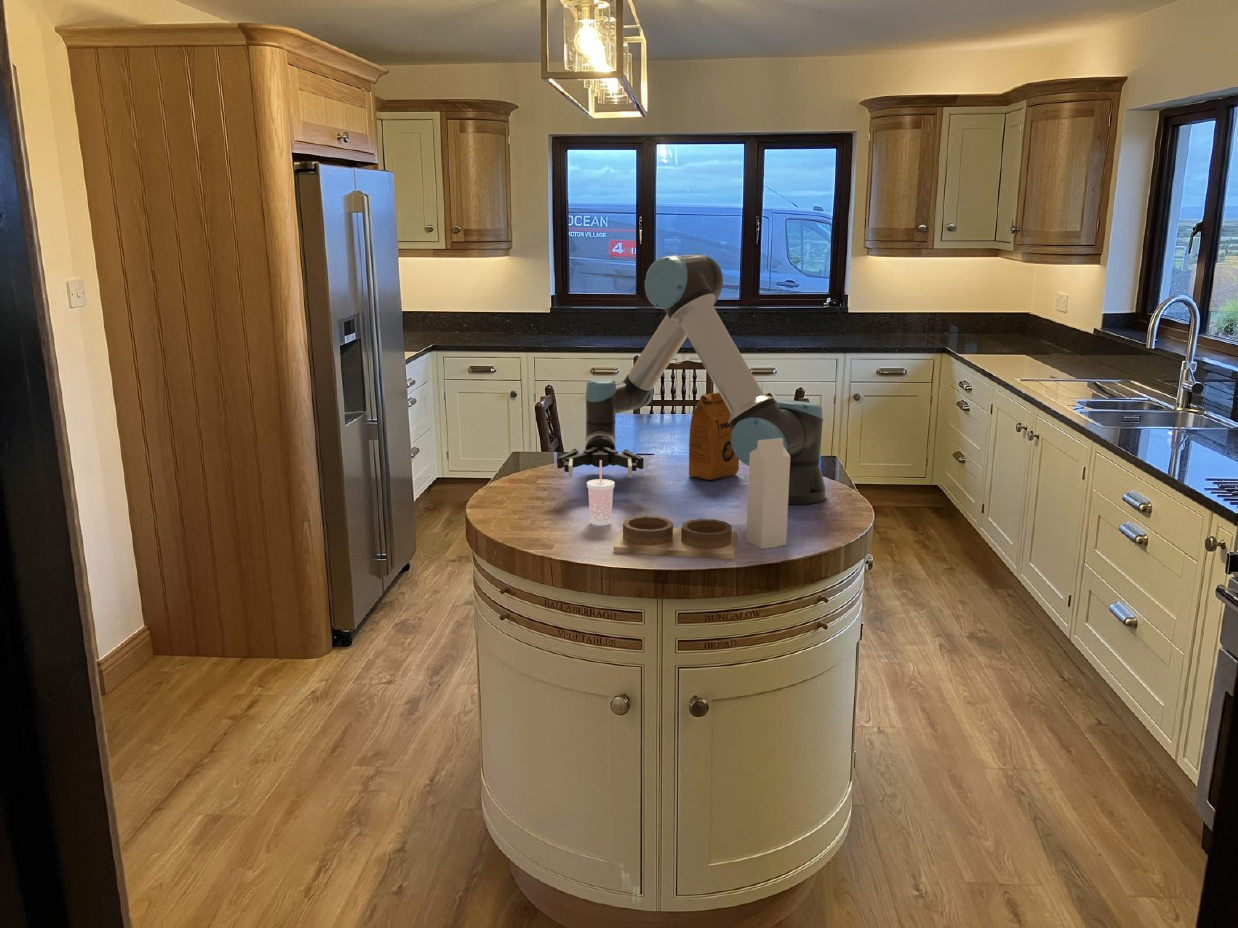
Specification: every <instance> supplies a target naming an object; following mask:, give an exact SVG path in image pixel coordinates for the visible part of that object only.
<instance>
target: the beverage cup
mask: <svg viewBox="0 0 1238 928" xmlns="http://www.w3.org/2000/svg"><path fill="white" fill-rule="evenodd" d="M602 471H603V467H602V460H600V467H599V479H598V478H597V479H590V480H588V481H586V487H587V489H588V492H587V493H588V506H589V507H588V508H589V522H590V524H592V525H594V526H606V525H610V524H612V511H613V498H614V496H613V495H614V489H615V481H614V480H611V479H606V478H604V479H603V472H602Z"/></svg>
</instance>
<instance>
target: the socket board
mask: <svg viewBox="0 0 1238 928" xmlns="http://www.w3.org/2000/svg"><path fill="white" fill-rule="evenodd" d="M681 525H682V526H681V528H680V527H679V528H678V527H674V522H673V521H671V520H670V519H669V518H666V517H661V516H653V515H642V516H641V515H640V516H633V517H630V518H627V519H625V520H624V522H623V523H622V529H621V531H620V533H619V535H618V537H617V539H616V541H615V542H614V546H613V553H618V554H633V555H635V554H636V555H650V556H651V555H653V556H654V555H655V556H670V557H687V558H700V559H701V558H702V559H703V558H704V559H718V560H720V559H721V560H735V557H736V549H737V541H738V531H735V530H732V529H733V526H732V525H731V524H729V523H728V522H727V521H723V520H718V519H715V518H714V519H712V518H698V519H690V520H687V521H685V522H682V524H681Z"/></svg>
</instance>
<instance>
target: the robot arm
mask: <svg viewBox="0 0 1238 928" xmlns="http://www.w3.org/2000/svg"><path fill="white" fill-rule="evenodd" d="M646 271H647V272H646V275H645V280H644V290H645V294H646V299H648V301H649V303H650V304H652V305H653V306H654V307H656V308H658V309H661V310H664V311H665V313H666V314H665V316H664V318H663V319H662V321H661V322H660V324H659V325H658V327H657V329H656V330H655V332H654V333H653V335H652V336H651V337H650V340H649V341H648V343H647V344H646V346H645V347H644V349H643V350H642V352H641V354H640V355H639V356H638V358H637V359H636V361H635V363H634V364H633V365H632V367H631V369H630V371H629V372H628V374H627V375H626V376H625V378H624V379H623V381H622V382H619V383H616V381H615V380H614V379H610V378H592V379H590V380H588V381H587V382H586V392H585V409H586V410H585V421H586V422H585V448H584V450H583V451H582V452H580V451H579V450H578V449H577V448H572V450H571V451H569V452H567V453H564V454H563V455H560V456H558V457H556V461H557V462H556V463H557V464H556V468H557V469H562V468H563V470H564V473H568V478H572V477H573V472H574V468H577V467H580V466H591V465H592V466H594V467H595V468H600V460H602V468H605V467H608V466H619V467H622V468H626V469H627V476H628V478H633V472H637V469H639V470H643V469H644V460H645V459H644V457H641V456H640V455H638V454H635V453H633V452H631V451H630V450H629V449H627V448H626V449H623V450H622V452H618V450H616V414H621V413H624V412H627V411H628V412H629V411H633V410H639V409H642V408H644V407H645V406H646V407H647V406H648V405H649V404H650V403H651V402H652V400H653V397H654V387H655V386H656V384H657V382H658V381H659V380H660V378H661V377H662V375H663V374H664V372H665V370H666V369H667V367H668V366H669V365H670V364H671V362H672V360H673V359H674V357H676V354H677V353H678V352H679V350H680V348H681V347H682V346H683V344H684V342H685V341H686V339H688V340H689V342H690V344H691V345H692V347H693V349H694V351H695V353H696V354H697V356H698V358H699V359H700V361H701V363H702V365H703V367H704V369H705V370H706V372H707V374H708V376H709V377H710V378H711V379H710V380H711V381H712V382H713V384H714V386H715V388H716V390H717V391H718V392H719V393H720V395H721V397H722V399H723V400H724V402H725V404H726V406H727V407H728V409H729V411H730V414H731V415H730V419H729V422H728V423H729V425H730V427H731V428H732V430H733V431H732V434H731V436H732V439H731V445H732V449H733V451H734V453H735V455H736V456H737V457H738V459H739V461H740V462H741V463H743V464H744V465H746V466H748V467H749V458H750V452H752V451H753V450H755V449H756V448H757V446H758V441H759V440H767V439H777V438H783V446H784V448H785V449H786V451H787V452H788V454H789V455H790V474H789V494H788V505H812V504H817V503H820V502H823V501H824V500H826V493H827V488H826V484H825V480H824V477H823V474H822V471H821V470H822V469H821V463H820V462H821V451H822V450H821V448H822V436H823V435H822V434H823V433H822V432H823V422H824V418H823V408H822V406H821V405H820V404H818V403H814V402H809V401H799V400H789V399H777V400H776V399H775V398H774V397H773V396H769V395H766V394H764V393H763V390H762V389H761V387H760V385H759V384H758V382H757V380H756V378H755V376H754V375H753V373H752V371H751V369H750V368H749V366H748V364H747V362H746V361H745V359H744V358H743V356H742V354H741V351H739V349H738V347H737V345H736V344H735V342H734V341H733V339H732V337H731V335H730V333H729V331H728V330H727V328H726V326H725V324H724V323H723V321H722V319H721V317H720V316H719V314H718V312H717V310H716V308H715V304H716V303H717V301H718V300H719V297H720V296H721V293H722V289H723V286H724V276H723V275H724V274H723V272H722V268H721V267H720V265H719V264H718V262H716V261H715V259H713V258H712V257H710V256H708V255H705V254H700V253H699V254H698V253H695V254H686V255H676V254H671V255H668V256H663V257H659V258H658V259H656V260H655V261H653V262H652V263H651V265H650V266H649V268H648V270H646ZM718 392H717V393H718Z"/></svg>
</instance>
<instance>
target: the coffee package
mask: <svg viewBox="0 0 1238 928" xmlns="http://www.w3.org/2000/svg"><path fill="white" fill-rule="evenodd" d="M730 415H731V414H730V411H729V409H728V407H727V406H726V404H725V402H724V400H723V399H722V397H721V395H720V393H719V392H715V393H714V392H713V393H707V394H703V395H700V397H699V400H698V402H697V404H696V406H695V408H694V409H693V413H692V415H691V420H690V425H689V438H688V439H689V441H688V476H689V477H691V478H698V479H704V480H710V481H711V480H716V479H720V478H728V477H730V476H734V475H737V474H738V471H739V470H740V468H739V467H740V465H739V463H740V460H739V459H738V457H737V456H736V455H735V453H734V451H733V449H732V445H731V439H732V436H731V434H732V431H733V430H732V428H731V427H730V425H729V423H728V422H729V419H730Z"/></svg>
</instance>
